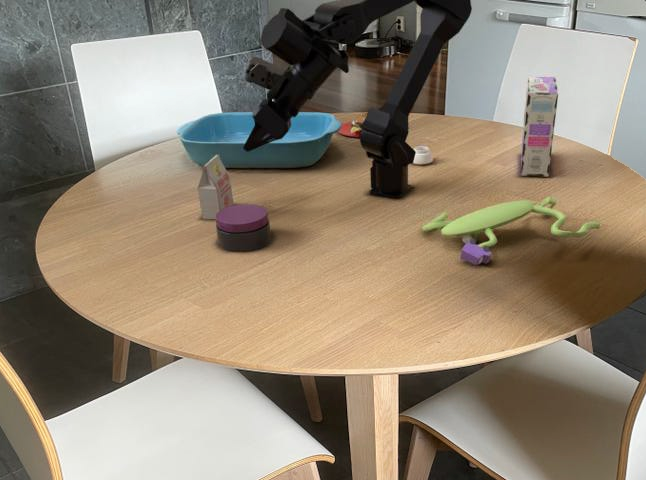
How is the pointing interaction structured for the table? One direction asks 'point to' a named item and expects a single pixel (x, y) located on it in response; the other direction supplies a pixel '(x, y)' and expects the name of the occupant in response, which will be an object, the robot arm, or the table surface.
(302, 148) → the casserole dish
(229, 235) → the jar
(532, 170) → the candy box
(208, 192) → the paper tea packet
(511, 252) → the table surface
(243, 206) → the jar lid
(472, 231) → the figurine
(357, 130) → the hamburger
